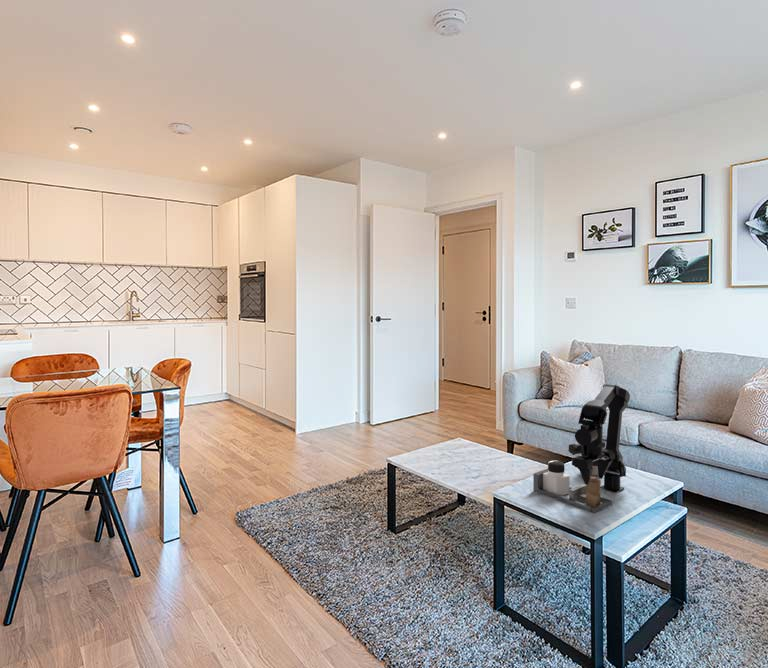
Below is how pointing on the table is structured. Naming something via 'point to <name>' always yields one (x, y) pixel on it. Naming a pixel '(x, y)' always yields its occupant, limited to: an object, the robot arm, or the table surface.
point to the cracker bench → (539, 489)
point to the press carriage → (587, 492)
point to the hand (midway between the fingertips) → (593, 481)
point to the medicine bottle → (556, 479)
